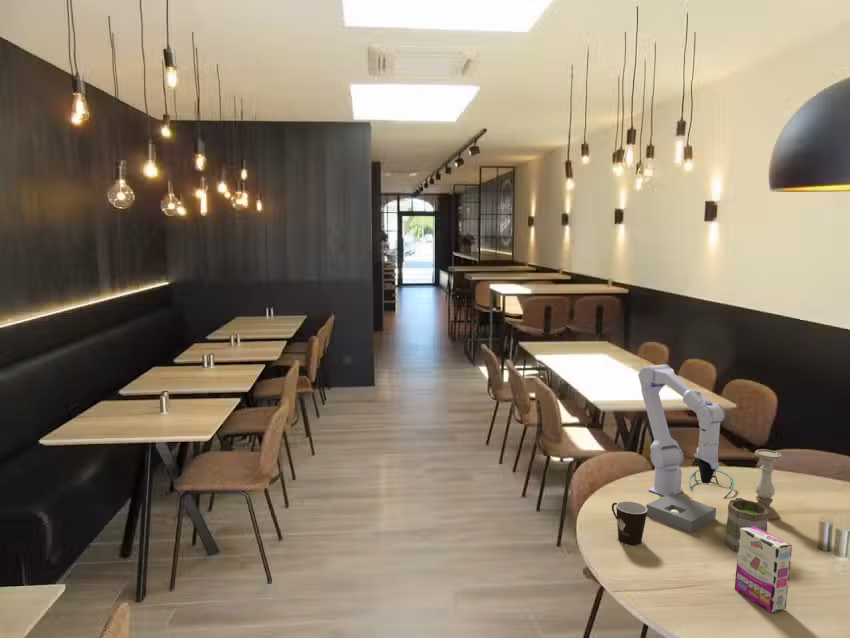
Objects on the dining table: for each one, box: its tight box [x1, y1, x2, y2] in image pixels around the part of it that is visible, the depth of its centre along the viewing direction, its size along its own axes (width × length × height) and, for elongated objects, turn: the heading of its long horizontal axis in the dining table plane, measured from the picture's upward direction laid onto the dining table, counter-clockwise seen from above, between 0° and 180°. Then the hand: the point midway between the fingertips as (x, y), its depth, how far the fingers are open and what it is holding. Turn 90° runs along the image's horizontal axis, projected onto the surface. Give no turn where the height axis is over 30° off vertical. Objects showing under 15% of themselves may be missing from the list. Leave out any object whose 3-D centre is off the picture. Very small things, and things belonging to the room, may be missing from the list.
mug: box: [724, 497, 769, 554], centre depth 182 cm, size 16×11×12 cm
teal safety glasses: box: [688, 469, 734, 500], centre depth 223 cm, size 14×15×5 cm
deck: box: [645, 493, 717, 533], centre depth 199 cm, size 15×15×4 cm
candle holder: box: [754, 448, 783, 521], centre depth 201 cm, size 9×9×20 cm
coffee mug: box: [611, 500, 648, 546], centre depth 185 cm, size 12×9×10 cm
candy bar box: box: [734, 526, 793, 613], centre depth 154 cm, size 11×5×16 cm, turn 21°
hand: (705, 482), depth 203 cm, fingers closed
